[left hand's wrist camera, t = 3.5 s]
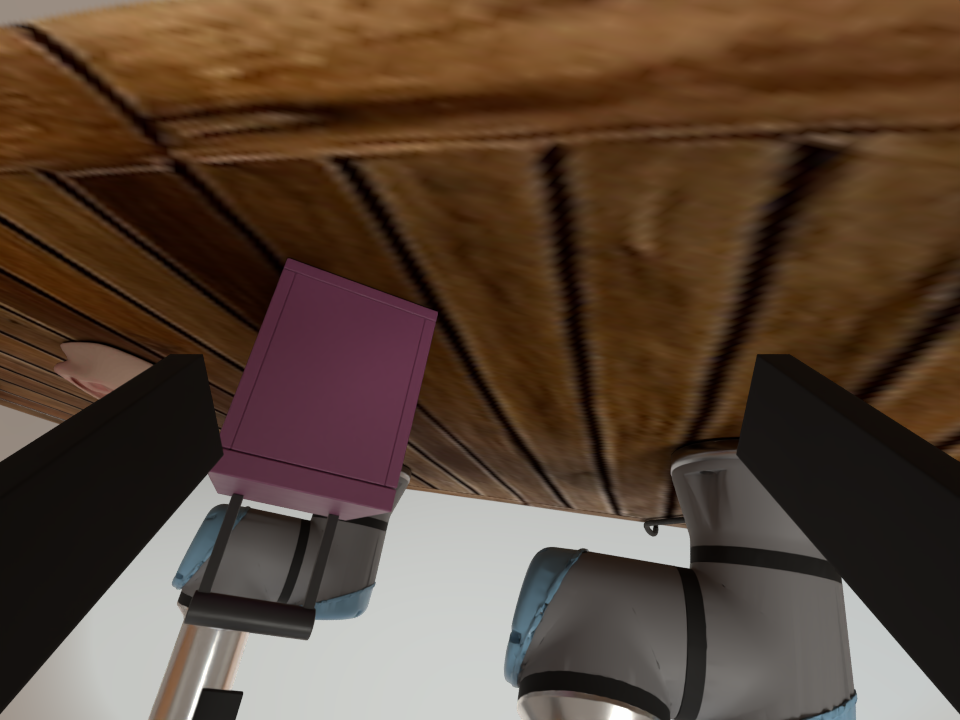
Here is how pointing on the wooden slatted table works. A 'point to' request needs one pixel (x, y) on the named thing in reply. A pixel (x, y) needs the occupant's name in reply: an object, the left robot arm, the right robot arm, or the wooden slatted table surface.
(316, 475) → the lid
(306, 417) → the chest
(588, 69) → the wooden slatted table surface
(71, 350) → the anatomical model
